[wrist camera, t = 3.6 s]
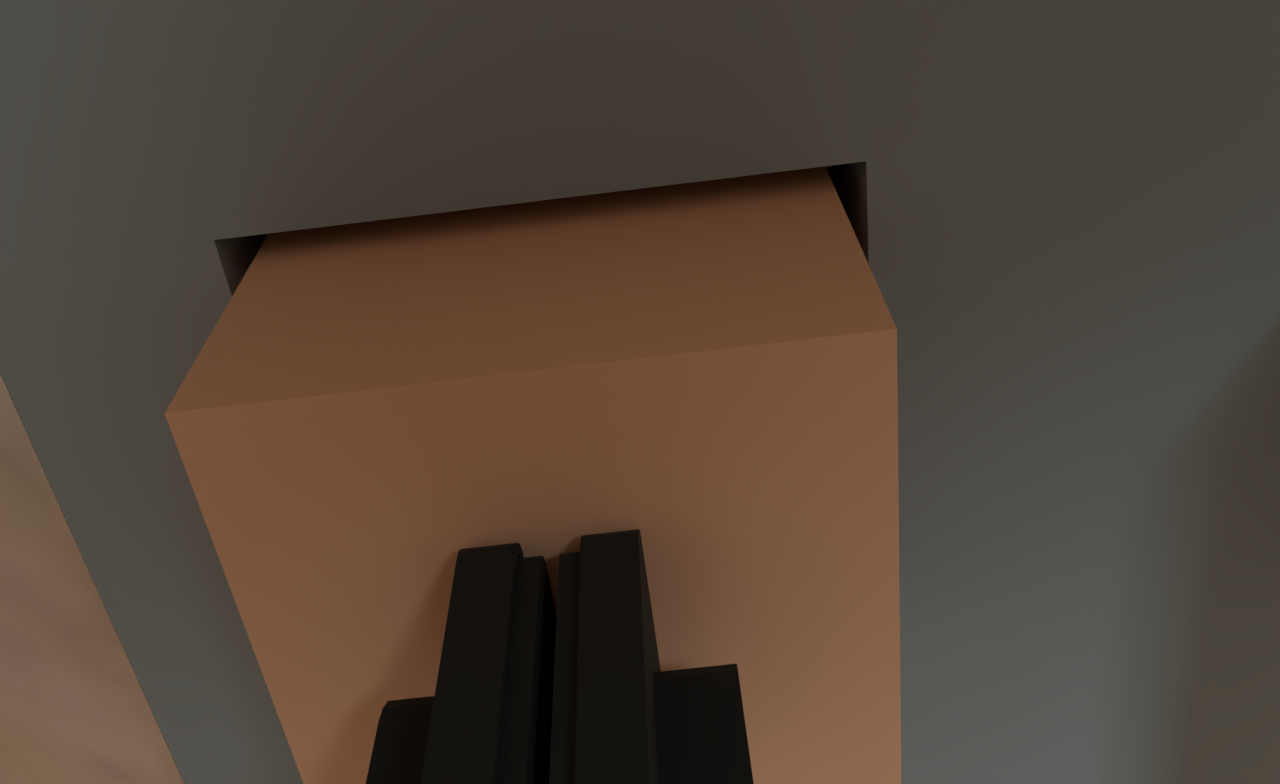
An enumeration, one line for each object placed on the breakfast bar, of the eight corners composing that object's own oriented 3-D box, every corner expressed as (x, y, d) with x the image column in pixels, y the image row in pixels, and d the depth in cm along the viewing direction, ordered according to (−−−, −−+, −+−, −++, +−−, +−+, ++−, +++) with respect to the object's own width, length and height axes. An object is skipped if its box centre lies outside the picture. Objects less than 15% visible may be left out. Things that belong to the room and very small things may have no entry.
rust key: (294, 186, 14) (165, 412, 10) (807, 124, 14) (896, 328, 10) (405, 582, 17) (341, 884, 13) (827, 536, 17) (901, 827, 13)
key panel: (17, -180, 15) (-219, -114, 11) (2064, -455, 14) (2712, -505, 10) (311, 667, 22) (241, 910, 18) (1675, 520, 21) (1947, 739, 17)
